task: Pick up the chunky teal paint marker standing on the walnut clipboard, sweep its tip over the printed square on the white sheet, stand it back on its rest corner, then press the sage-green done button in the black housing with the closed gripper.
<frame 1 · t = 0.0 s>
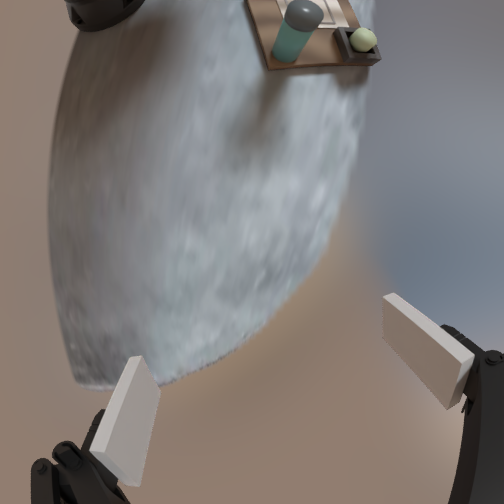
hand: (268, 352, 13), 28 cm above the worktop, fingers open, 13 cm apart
clipboard: (310, 26, 32), on the worktop
done button: (362, 40, 30), point 4 cm above the worktop, slide at 0.0 cm
marker: (285, 51, 33), point 1 cm above the worktop, touching clipboard
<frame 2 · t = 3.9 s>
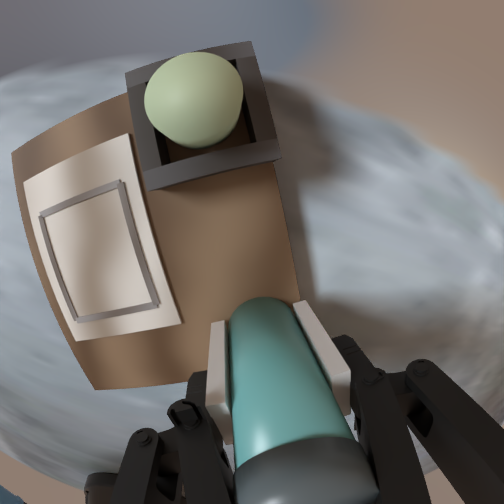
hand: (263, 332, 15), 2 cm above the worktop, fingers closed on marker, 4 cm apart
clipboard: (146, 248, 15), on the worktop
done button: (196, 103, 10), point 4 cm above the worktop, slide at 0.0 cm
marker: (262, 327, 16), point 1 cm above the worktop, touching gripper
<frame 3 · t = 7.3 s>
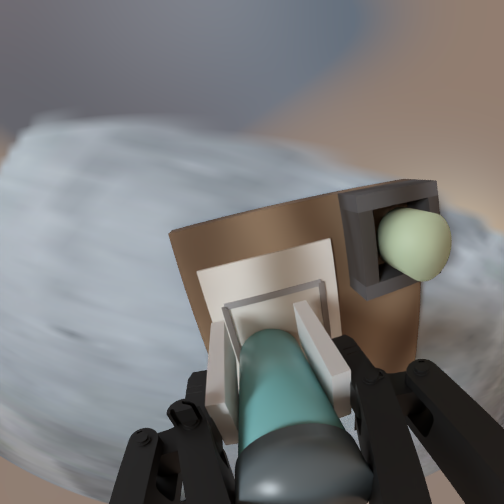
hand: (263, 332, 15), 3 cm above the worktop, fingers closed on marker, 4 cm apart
clipboard: (321, 325, 19), on the worktop
done button: (414, 242, 13), point 4 cm above the worktop, slide at 0.0 cm
marker: (270, 357, 17), point 2 cm above the worktop, tilted 12°, touching clipboard, gripper
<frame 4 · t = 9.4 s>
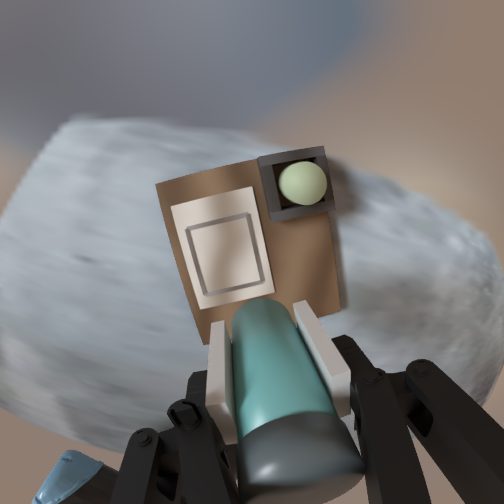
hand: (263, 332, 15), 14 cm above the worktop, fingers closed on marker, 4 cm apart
clipboard: (254, 250, 29), on the worktop
done button: (301, 183, 23), point 4 cm above the worktop, slide at 0.0 cm
marker: (261, 325, 18), point 12 cm above the worktop, touching gripper
when the fingers open (3 cm above the worktop, at t = 10.8 s): marker stays where it is, resting on clipboard.
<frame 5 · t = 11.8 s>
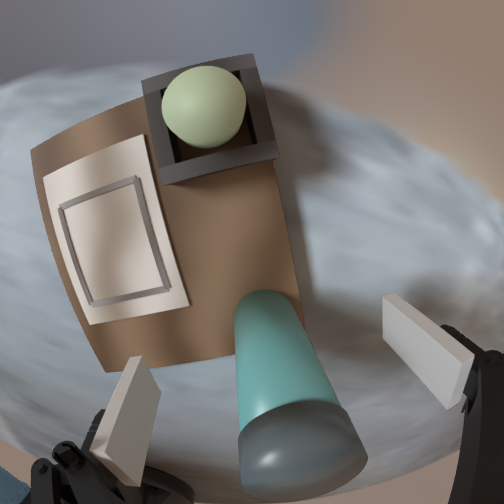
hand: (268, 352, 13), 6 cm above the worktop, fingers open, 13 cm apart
clipboard: (158, 237, 17), on the worktop
done button: (205, 109, 12), point 4 cm above the worktop, slide at 0.0 cm
marker: (264, 317, 18), point 1 cm above the worktop, touching clipboard
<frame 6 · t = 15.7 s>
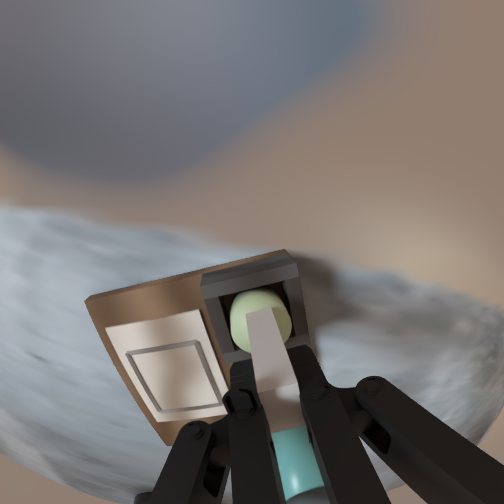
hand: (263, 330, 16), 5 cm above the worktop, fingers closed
clipboard: (212, 370, 22), on the worktop
done button: (258, 318, 17), point 4 cm above the worktop, slide at 0.7 cm, touching gripper
marker: (288, 413, 23), point 1 cm above the worktop, touching clipboard
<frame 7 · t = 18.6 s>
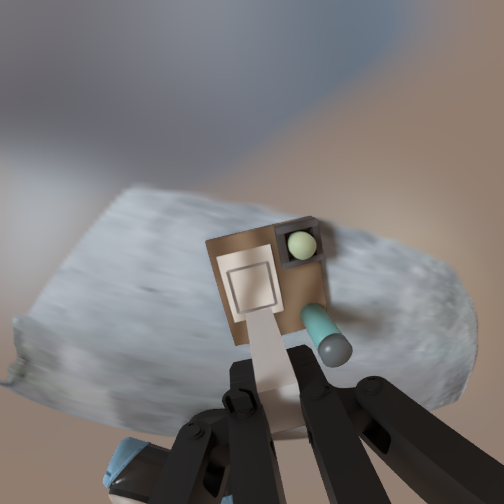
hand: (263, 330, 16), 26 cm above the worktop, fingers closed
clipboard: (271, 283, 43), on the worktop
done button: (301, 244, 38), point 4 cm above the worktop, slide at 0.8 cm
marker: (312, 313, 44), point 1 cm above the worktop, touching clipboard
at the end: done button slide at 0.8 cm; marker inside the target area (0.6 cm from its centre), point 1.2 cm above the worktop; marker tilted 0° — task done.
